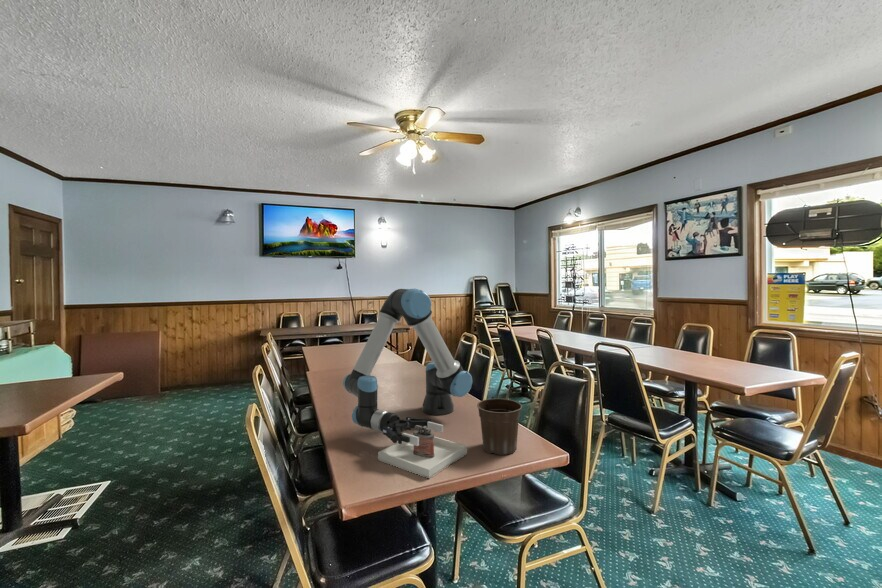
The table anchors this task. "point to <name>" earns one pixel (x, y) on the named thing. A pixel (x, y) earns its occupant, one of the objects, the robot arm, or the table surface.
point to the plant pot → (499, 425)
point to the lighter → (424, 442)
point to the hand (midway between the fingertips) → (430, 435)
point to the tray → (419, 465)
